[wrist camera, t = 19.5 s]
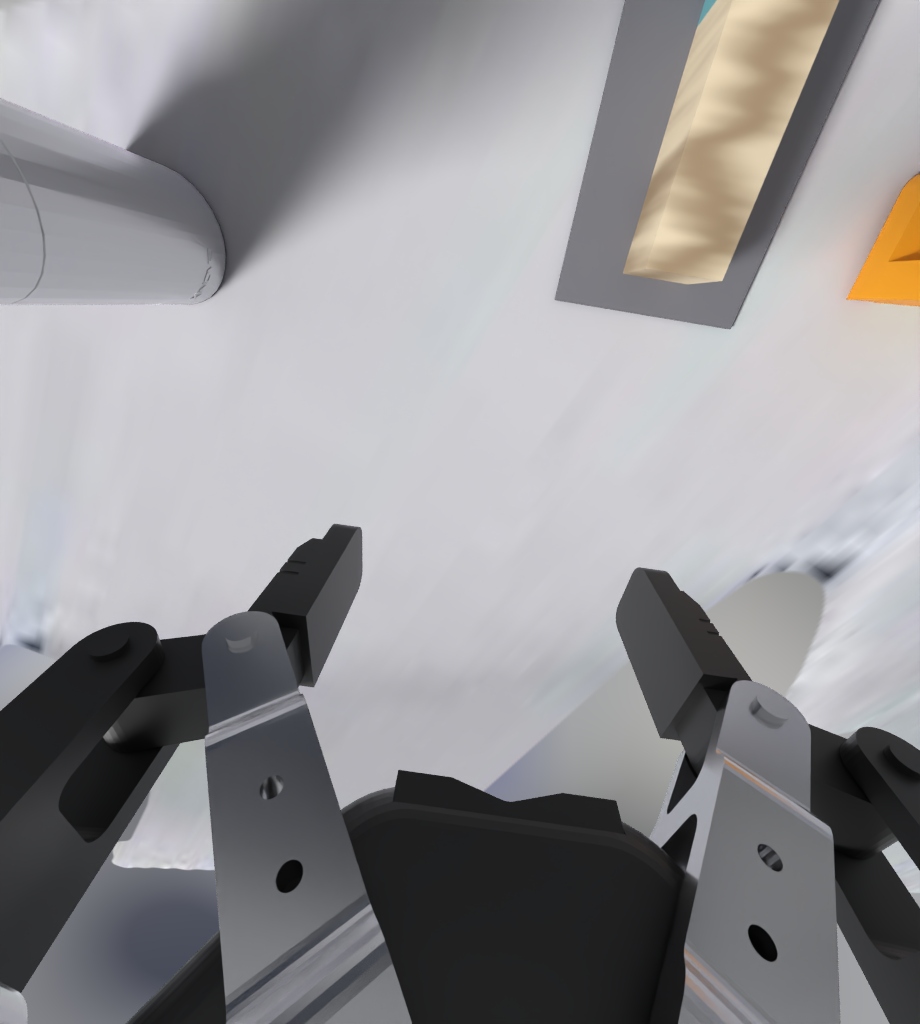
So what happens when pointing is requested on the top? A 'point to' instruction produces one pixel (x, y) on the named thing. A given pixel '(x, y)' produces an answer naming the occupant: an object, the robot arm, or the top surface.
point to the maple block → (724, 133)
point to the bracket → (895, 255)
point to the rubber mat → (635, 148)
